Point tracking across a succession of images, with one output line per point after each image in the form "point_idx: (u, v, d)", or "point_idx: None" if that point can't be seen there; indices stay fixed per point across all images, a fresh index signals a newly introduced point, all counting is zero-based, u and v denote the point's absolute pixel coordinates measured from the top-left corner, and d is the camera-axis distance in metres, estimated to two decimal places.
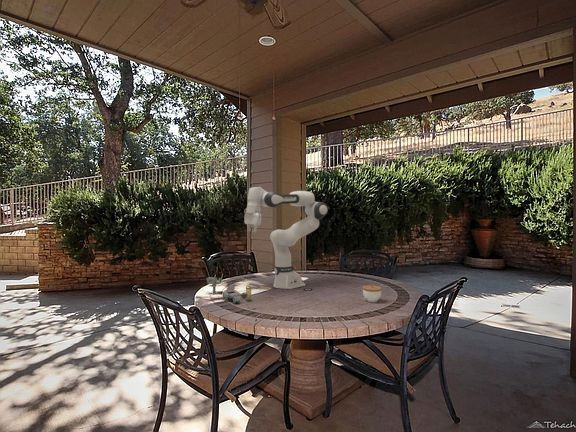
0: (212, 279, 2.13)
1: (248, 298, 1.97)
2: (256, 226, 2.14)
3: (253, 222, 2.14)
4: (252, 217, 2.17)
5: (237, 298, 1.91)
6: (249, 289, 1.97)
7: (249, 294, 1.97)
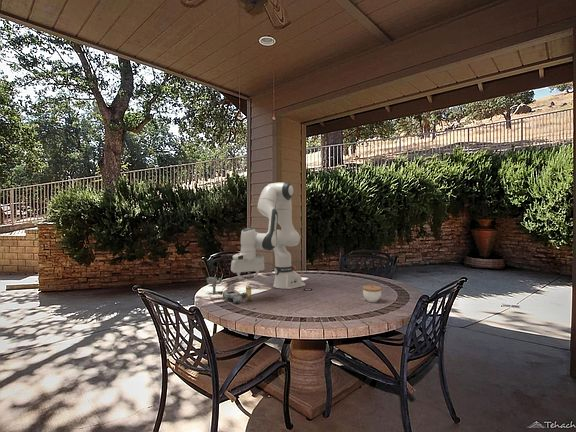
0: (212, 279, 2.13)
1: (248, 298, 1.97)
2: None
3: (258, 268, 1.98)
4: (253, 263, 1.97)
5: (237, 298, 1.91)
6: (249, 289, 1.97)
7: (249, 294, 1.97)
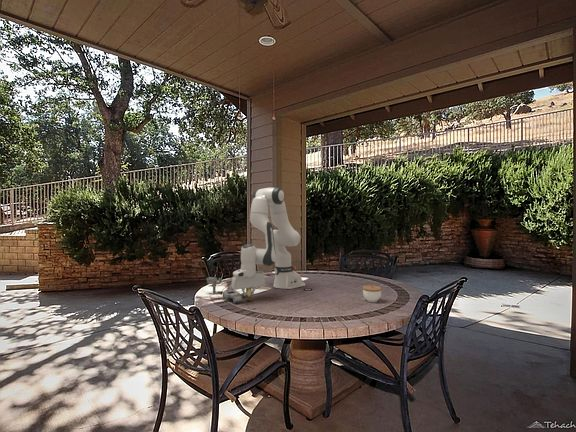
0: (212, 279, 2.13)
1: (248, 298, 1.97)
2: None
3: (258, 284, 1.99)
4: (253, 279, 1.98)
5: (237, 298, 1.91)
6: (249, 289, 1.97)
7: (249, 294, 1.97)
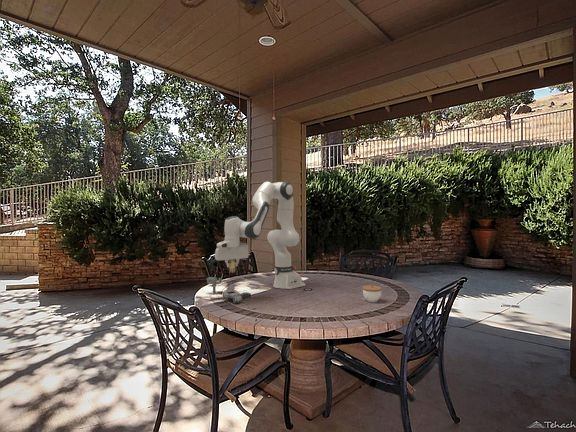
0: (212, 279, 2.13)
1: (231, 269, 1.99)
2: None
3: (242, 256, 2.01)
4: (237, 251, 2.00)
5: (237, 298, 1.91)
6: (233, 260, 1.99)
7: (232, 265, 1.99)
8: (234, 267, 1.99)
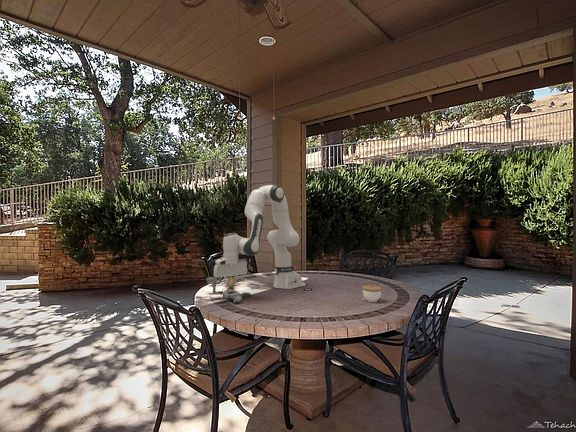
0: (212, 279, 2.13)
1: (230, 286, 1.99)
2: None
3: (240, 272, 2.02)
4: (235, 267, 2.01)
5: (237, 298, 1.91)
6: (231, 277, 2.00)
7: (231, 282, 2.00)
8: (233, 284, 2.00)
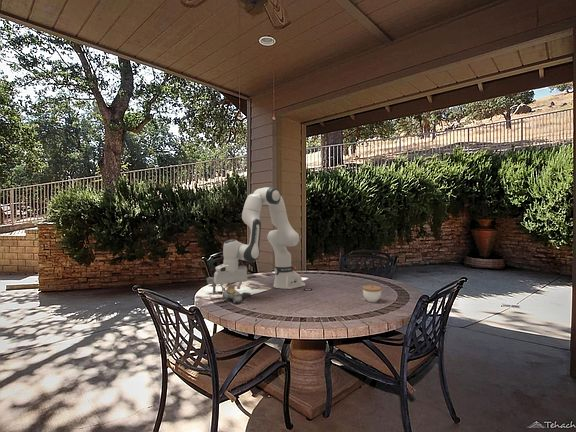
0: (212, 279, 2.13)
1: None
2: None
3: (240, 279, 2.02)
4: (236, 274, 2.01)
5: (237, 298, 1.91)
6: (231, 288, 2.00)
7: None
8: None
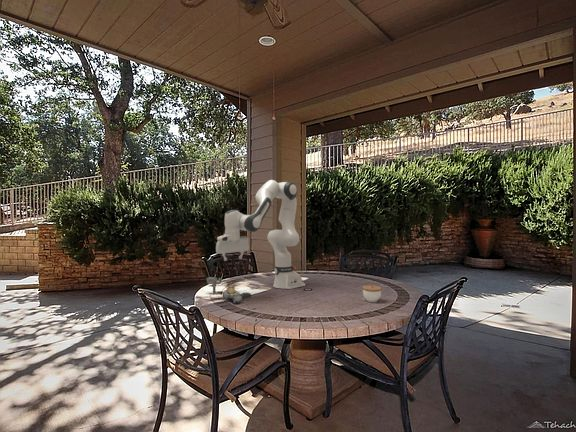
0: (212, 279, 2.13)
1: None
2: None
3: (242, 249, 2.04)
4: (237, 244, 2.03)
5: (237, 298, 1.91)
6: (231, 288, 2.00)
7: None
8: None
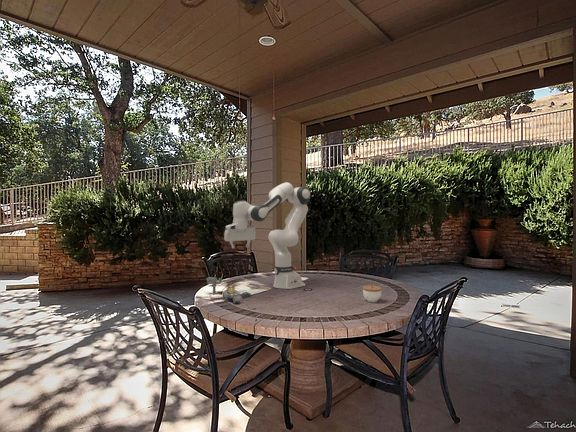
0: (212, 279, 2.13)
1: None
2: None
3: (249, 237, 2.15)
4: (244, 233, 2.14)
5: (237, 298, 1.91)
6: (231, 288, 2.00)
7: None
8: None
